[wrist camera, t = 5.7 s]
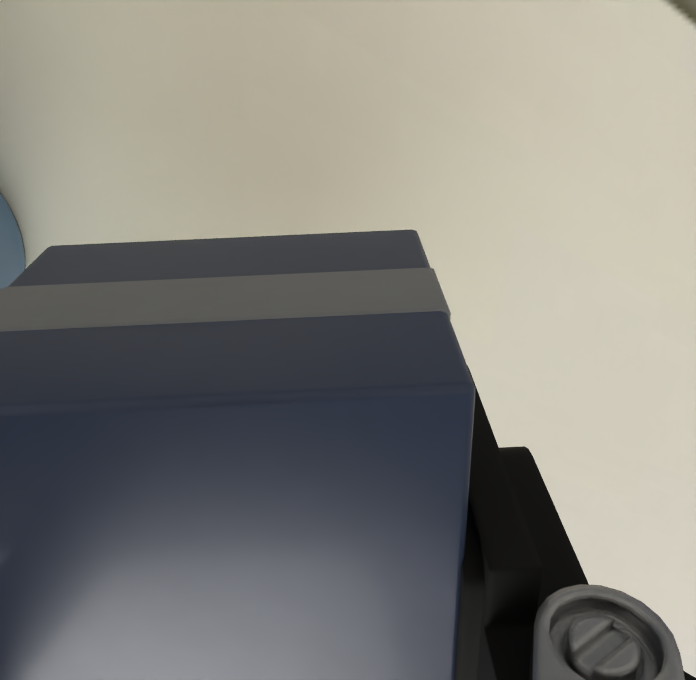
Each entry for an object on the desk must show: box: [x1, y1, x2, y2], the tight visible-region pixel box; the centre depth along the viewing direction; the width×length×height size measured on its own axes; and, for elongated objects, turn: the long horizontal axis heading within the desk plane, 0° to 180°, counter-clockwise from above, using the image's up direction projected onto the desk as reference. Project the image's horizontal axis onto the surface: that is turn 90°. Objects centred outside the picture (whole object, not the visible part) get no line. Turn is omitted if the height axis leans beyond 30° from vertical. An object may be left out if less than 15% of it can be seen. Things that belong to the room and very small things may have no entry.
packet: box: [0, 230, 476, 680], centre depth 9 cm, size 7×5×4 cm
